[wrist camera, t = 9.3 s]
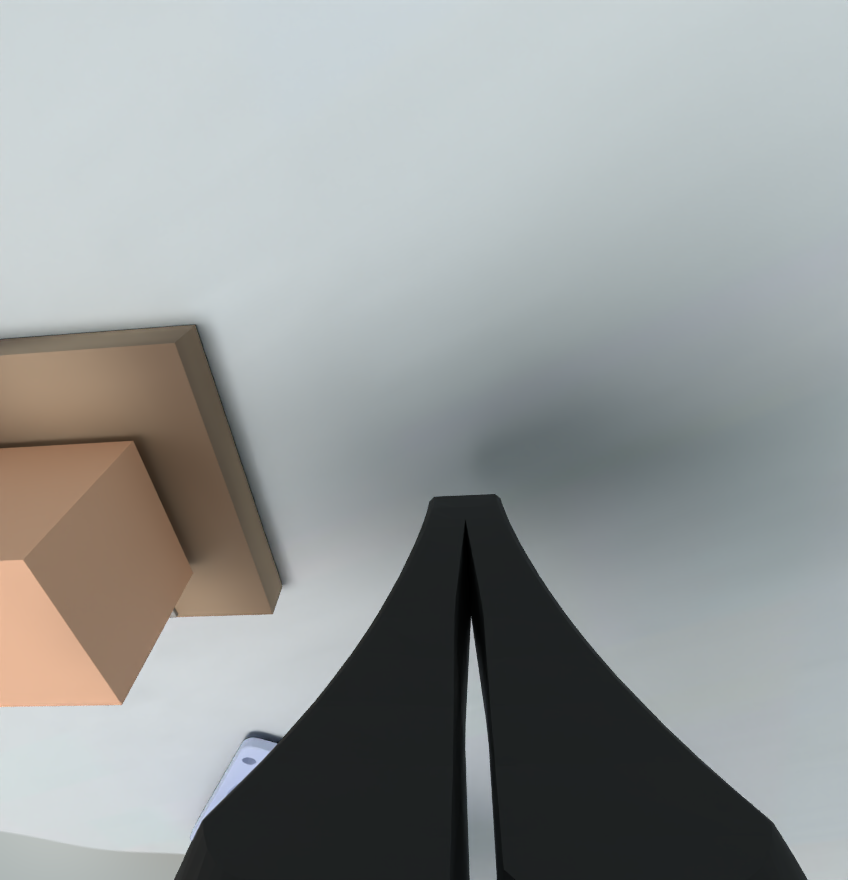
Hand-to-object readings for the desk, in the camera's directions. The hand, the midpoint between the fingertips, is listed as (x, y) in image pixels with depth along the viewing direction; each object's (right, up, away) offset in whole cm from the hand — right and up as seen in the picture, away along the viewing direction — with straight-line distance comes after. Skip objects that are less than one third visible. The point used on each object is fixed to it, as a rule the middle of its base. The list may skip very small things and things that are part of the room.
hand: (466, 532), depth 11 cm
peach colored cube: (-9, 0, +2) cm, 9 cm away
